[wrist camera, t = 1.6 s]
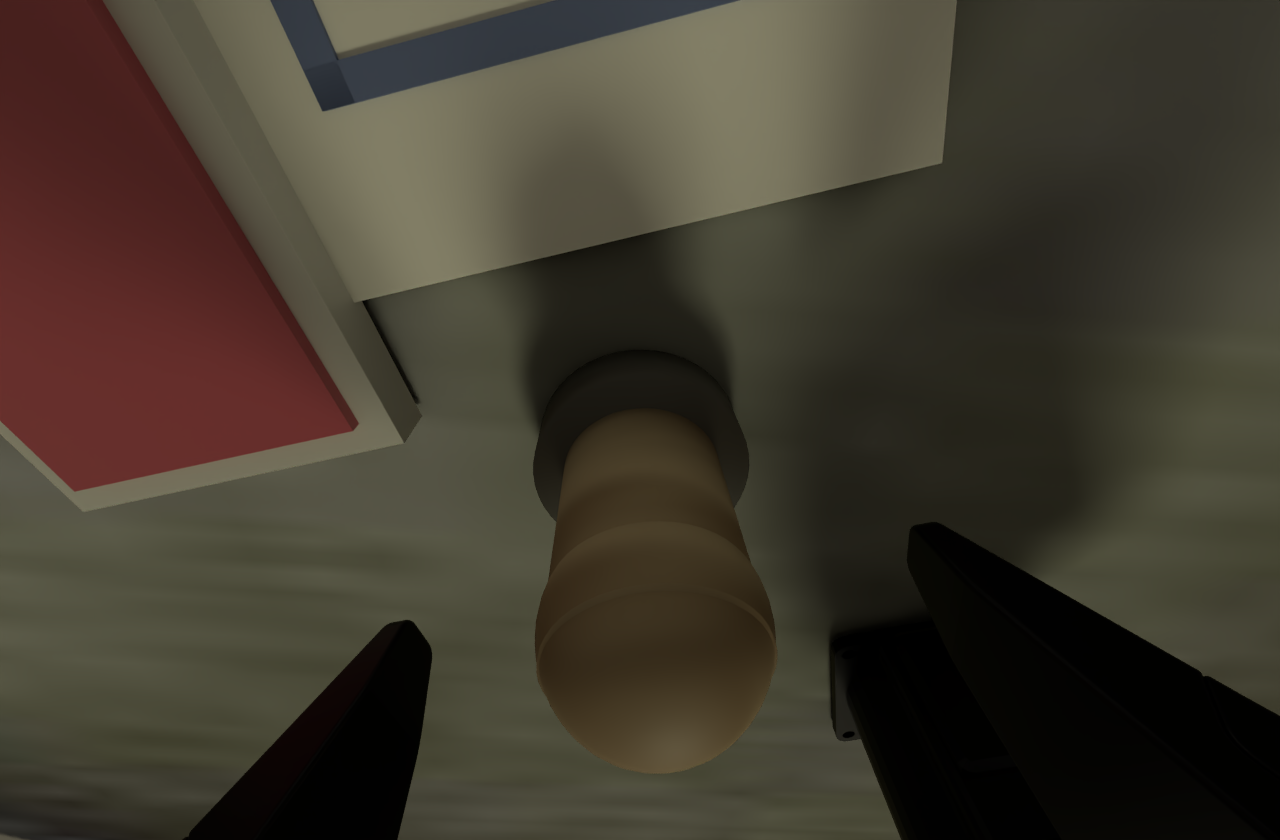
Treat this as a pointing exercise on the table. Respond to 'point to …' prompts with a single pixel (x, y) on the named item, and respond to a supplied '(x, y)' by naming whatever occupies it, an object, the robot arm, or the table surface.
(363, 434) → the ink pad
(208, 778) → the table surface
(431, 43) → the paper
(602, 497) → the stamp
